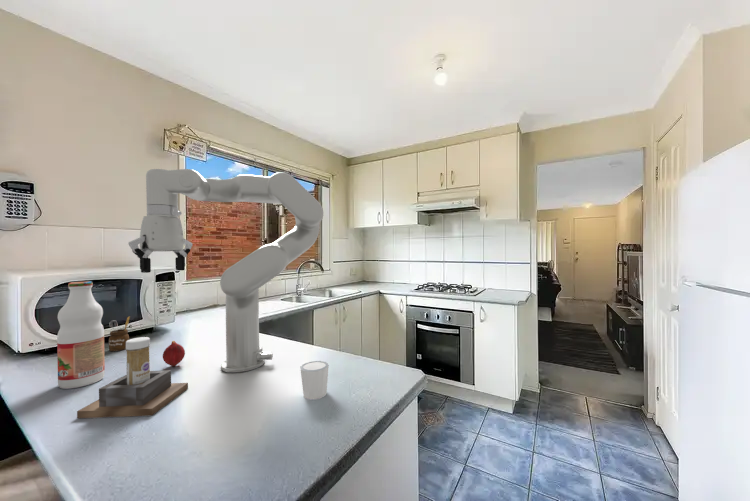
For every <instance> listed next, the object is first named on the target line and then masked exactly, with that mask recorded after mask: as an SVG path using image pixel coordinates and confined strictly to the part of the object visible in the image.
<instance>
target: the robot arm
mask: <svg viewBox="0 0 750 501" xmlns="http://www.w3.org/2000/svg"><path fill="white" fill-rule="evenodd" d="M145 186H146V187H145V189H146V191H145V192H146V195H145V196H146V216H143V217H142V221H141V226H140V232H139V237H137V238H135V239H133V240H131V241H128V244H127V245H128V246H129V247H130V250H131V252H132V253H133V254H134V255H135V256H136V258H138V259H139V269H140V272H141V273H142V274H143V273H145V274H146V273H149V274H150V273H151V271H152V266H151V262H152V261H151V260H152V259H151V258H150V255H151V254H152V253H153V252H172V253H174V254H175V255H176V256H177V257H175V271H185V270H186V268H185V267H186V258H187V256H188V254H189V253H190V252H191V249H192V248H193V242H191V241H189V240H188V239H185V238H184V232H183V231H184V230H183V229H184V228H183V225H182V221H181V218H179V216H182V211H181V210H179V194H181V195H184V196H187V197H188V198H189V199H191V200H194V201H199V202H200V201H201V202H214V203H215V202H216V203H242V202H243V203H246V202H247V203H260V204H261V203H262V204H272V205H273V204H277V205H282V206H283V207H284V208H285V209H286V210H287V211H288V212H289V213H290V214H292V215H293V216H294V220H295V225H294V227H293V228H292V229H291V230H289V231H288V232H286V233H285V234H284V235H282V236H280V237H279V238H277V239H276V240H275V241H273V242H271V243H268V244H264V245H261V247H259V248H257V249H255V250H254V251H253V252H251V253H249V254H248V255H246V256H245V257H243V258H242V259H240V260H238V261H237V262H235V263H234V264H232V265H231V266H229V267H228V268H226V269H225V271H223V273H222V274H221V277H220V280H219V286H220V289H221V291H222V292H223V294H224V295H225V352H226V356H225V358H226V360H225V361H223V362H222V363H221V365H220V369H221V370H222V371H223V372H225V373H244V372H248V371H252V370H255V369H257V368H260V367H261V366H263V365H264V364H265V362H266V361H269V360H273V355H274V354H273V353H272V351H264V350H263V346H262V347H261V346H260V316H259V315H260V310H259V309H260V305H259V302H260V301H259V299H260V298H259V296H260V288H262V287H263V286H264V285H266V284H268V283H269V282H270V281H272V280H273V279H274V278H276V277H277V276H279V275H280V274H281V273H283V271H284V270H286V268H287V266H288V265H289V264H291V263H292V262H293V261H295V260H297V259H298V258H299V257H301V255H303V254H305V253H306V252H307V251H308V250H309V249H310V248H312V247H313V245H314V244H315V243H316V241H317V239H318V236H319V233H320V223H321V222H322V221H323V218H324V209H323V206H322V204H321V203H320V202H319V201H318V200H317V199H316V198H315V197H314V196H313V195H312V194H311V193H310V191H308V190H307V189H306V188H305V187H304V186H303V185H302V184H301V183H300V182H299V181H298V180H297V179H296V178H295V177H294V176H292V175H291V174H290V173H287V172H284V171H283V172H281V171H278V172H275V173H273V174H272V175H271V176H266V175H264V176H263V175H255V174H244V173H243V174H238V175H236V176H234V177H232V178H227V179H217V178H206V177H205V178H204V176H203V175H201V173H199V172H198V171H196V170H194V169H191V168H190V169H189V168H181V169H171V170H170V169H169V170H168V169H162V168H151V169H149V170H147V171H146V174H145Z"/></svg>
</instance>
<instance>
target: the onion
mask: <svg viewBox="0 0 750 501" xmlns="http://www.w3.org/2000/svg"><path fill="white" fill-rule="evenodd" d="M185 354H186V351H185V348H184V347H183V346H182V345H181V344H179V343H177V342H176V341H175V340H172V341H171V344H169V345H168V346H167V347H166V348H165V349H164V351H163V353H162V359H163V362H164V363H165V364H166V365H169V366H171V367H175V366H177V365H178V364H180V363H181V362H182V361H183V359H184V358H185Z"/></svg>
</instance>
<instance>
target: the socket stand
mask: <svg viewBox="0 0 750 501" xmlns="http://www.w3.org/2000/svg"><path fill="white" fill-rule="evenodd" d="M188 389H189V382H172V370H170V369H169V370H167V369H166V370H150V380H148V381H146V382H144V383H143V384H141V385H127V374H125V375H123V376H121V377H118V378H117V379H115V380H113V381H112V382H111V381H110V383H107V384H105V385H104V386H102V387H100V388H98V399H97V400H95V401H94V402H93V401H92V402H91V403H90V404H88V405H86V406H84V407H82V408H81V409H79V410H77V411H76V418H77V419H87V418H88V419H90V418H91V419H93V418H96V419H97V418H120V417H121V418H122V417H124V418H125V417H146V416H147V417H149V416H151V417H152V416H154V415H155V414H156V413H158V412H159V411H161V409H163V408H164V407H166V406H167V405H168V404H170V403H171V402H172V401H174V400H175V399H176V398H178V397H179V396H180V395H182V394H183V393H184V392H186V391H187V390H188Z"/></svg>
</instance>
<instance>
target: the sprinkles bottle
mask: <svg viewBox="0 0 750 501" xmlns="http://www.w3.org/2000/svg"><path fill="white" fill-rule="evenodd" d="M150 346H151V338H150V337H148V336H146V337H145V336H141V337H134V338H129V340H128V341H126V349H125V350H126V375H127V385H141V384H143V383H144V382H146V381H148V380H150V371H151V366H150V365H151V364H150Z"/></svg>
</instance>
